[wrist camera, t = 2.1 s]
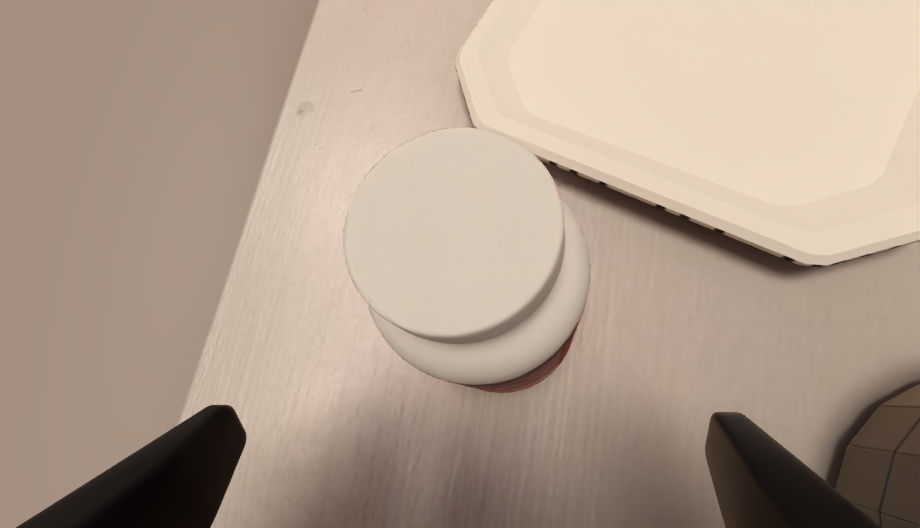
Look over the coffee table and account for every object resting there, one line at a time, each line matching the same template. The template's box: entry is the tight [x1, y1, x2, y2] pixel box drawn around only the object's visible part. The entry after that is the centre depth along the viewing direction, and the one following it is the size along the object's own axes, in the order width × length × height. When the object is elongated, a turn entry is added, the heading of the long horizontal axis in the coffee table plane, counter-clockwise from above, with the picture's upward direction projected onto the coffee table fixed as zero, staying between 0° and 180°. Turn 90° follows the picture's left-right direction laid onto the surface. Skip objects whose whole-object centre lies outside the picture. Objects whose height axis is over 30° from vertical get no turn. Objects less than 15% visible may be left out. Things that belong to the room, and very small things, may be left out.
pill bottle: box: [344, 127, 590, 393], centre depth 14 cm, size 6×6×11 cm
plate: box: [455, 0, 920, 267], centre depth 20 cm, size 21×21×2 cm
